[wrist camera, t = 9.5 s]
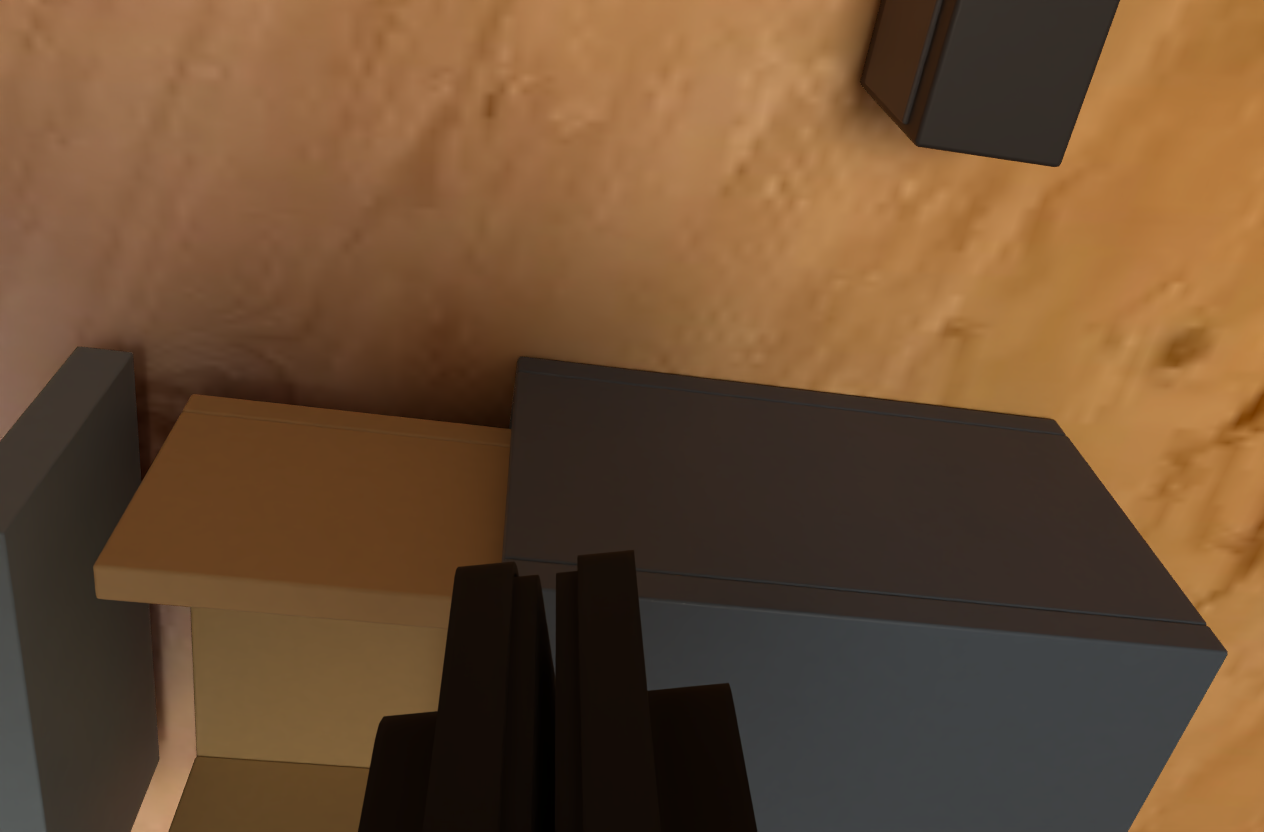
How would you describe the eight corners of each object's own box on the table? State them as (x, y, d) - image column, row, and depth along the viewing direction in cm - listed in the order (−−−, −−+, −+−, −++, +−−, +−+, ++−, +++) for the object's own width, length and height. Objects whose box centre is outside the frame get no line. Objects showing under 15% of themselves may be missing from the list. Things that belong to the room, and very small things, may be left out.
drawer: (-144, 737, 30) (-312, 972, 25) (-251, 307, 24) (-512, 485, 18) (561, 787, 33) (561, 1011, 27) (632, 408, 27) (653, 594, 21)
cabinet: (465, 770, 34) (438, 1057, 26) (518, 354, 27) (501, 585, 19) (899, 801, 35) (990, 1078, 28) (1055, 418, 28) (1230, 653, 21)
